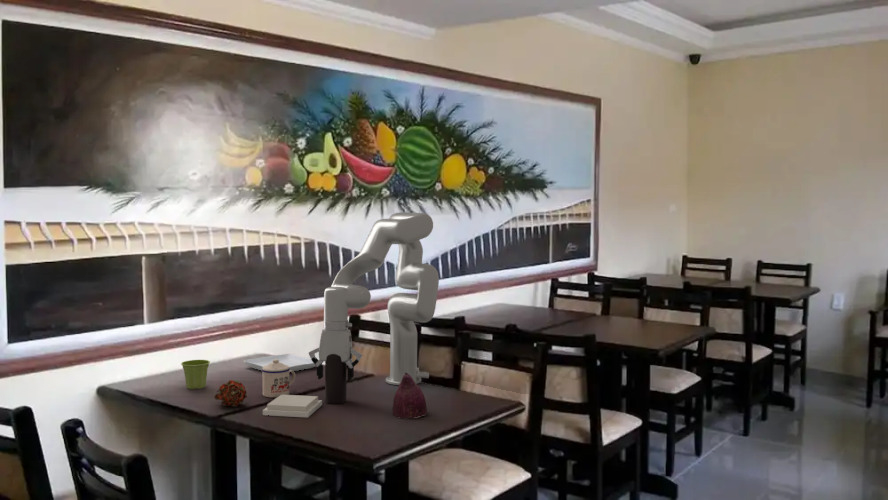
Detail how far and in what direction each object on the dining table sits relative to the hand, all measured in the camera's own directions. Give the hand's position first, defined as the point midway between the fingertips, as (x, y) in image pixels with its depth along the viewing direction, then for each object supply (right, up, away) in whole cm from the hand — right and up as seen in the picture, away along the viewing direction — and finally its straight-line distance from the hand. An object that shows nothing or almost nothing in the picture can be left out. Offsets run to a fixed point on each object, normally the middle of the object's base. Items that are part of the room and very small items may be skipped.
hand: (335, 379), depth 245 cm
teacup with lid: (-20, -7, +10) cm, 23 cm away
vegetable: (+24, -9, -13) cm, 29 cm away
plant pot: (-50, -6, +17) cm, 53 cm away
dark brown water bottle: (0, -8, +1) cm, 8 cm away
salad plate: (-27, -5, +47) cm, 55 cm away
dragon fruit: (-32, -8, -5) cm, 33 cm away
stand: (-11, -8, -10) cm, 17 cm away
